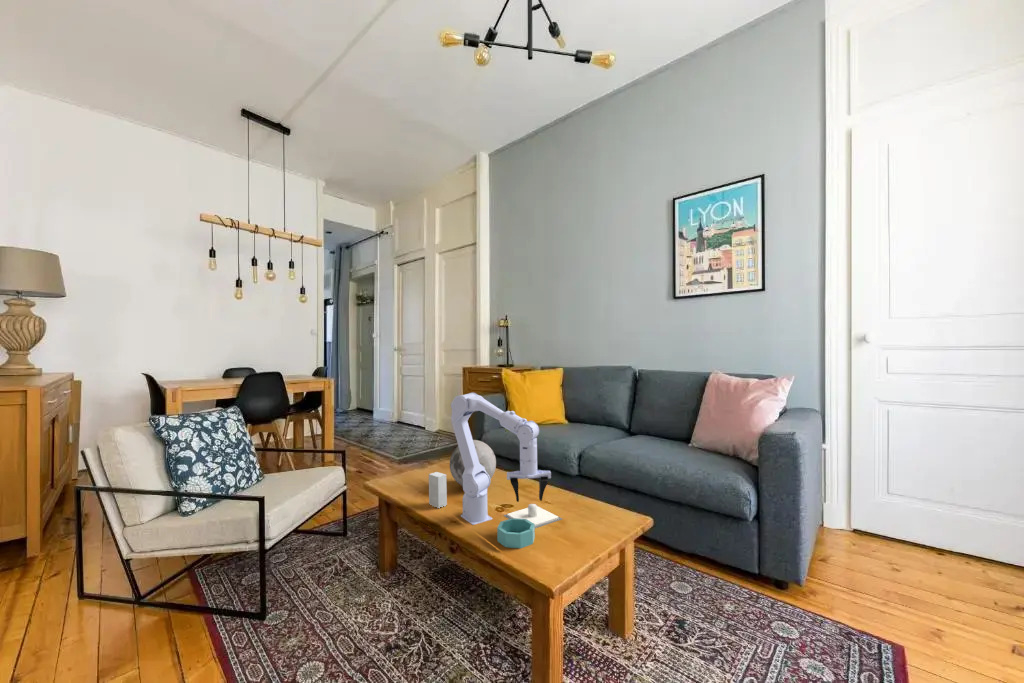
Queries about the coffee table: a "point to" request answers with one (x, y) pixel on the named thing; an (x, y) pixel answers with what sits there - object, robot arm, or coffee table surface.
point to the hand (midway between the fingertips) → (529, 500)
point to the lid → (534, 515)
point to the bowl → (516, 533)
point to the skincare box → (437, 489)
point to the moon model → (484, 457)
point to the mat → (541, 524)
